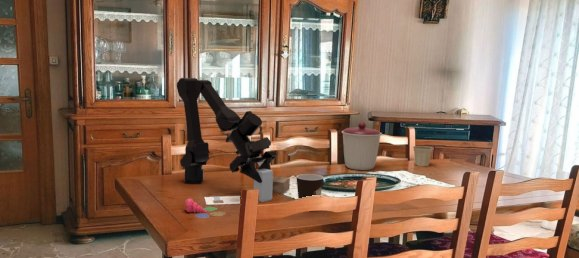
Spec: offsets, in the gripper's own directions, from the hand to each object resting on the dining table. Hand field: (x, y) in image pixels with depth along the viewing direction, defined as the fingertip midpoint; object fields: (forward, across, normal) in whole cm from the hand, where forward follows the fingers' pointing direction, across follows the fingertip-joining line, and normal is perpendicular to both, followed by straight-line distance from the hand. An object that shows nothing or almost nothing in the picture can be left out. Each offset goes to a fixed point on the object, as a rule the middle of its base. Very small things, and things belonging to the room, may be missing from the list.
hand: (266, 181), depth 165 cm
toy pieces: (+2, -23, +8) cm, 25 cm away
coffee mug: (+16, +5, -6) cm, 18 cm away
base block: (0, +13, +9) cm, 16 cm away
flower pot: (+13, +99, -4) cm, 100 cm away
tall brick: (+4, 0, +6) cm, 7 cm away
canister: (+1, +71, +9) cm, 72 cm away
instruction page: (-2, -10, +12) cm, 16 cm away
